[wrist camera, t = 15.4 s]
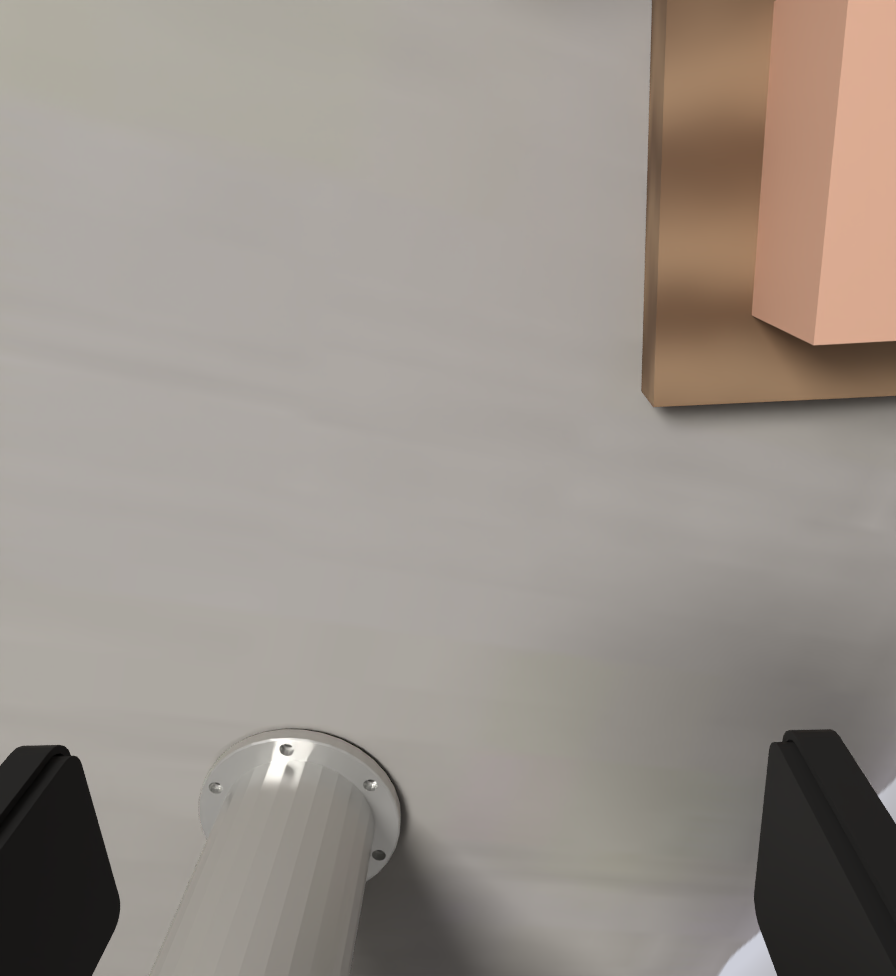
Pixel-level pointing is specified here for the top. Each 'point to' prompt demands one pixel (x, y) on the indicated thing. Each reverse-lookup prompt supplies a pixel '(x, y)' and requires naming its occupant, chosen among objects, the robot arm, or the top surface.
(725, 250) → the walnut stand
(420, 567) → the top surface
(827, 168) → the terracotta block
